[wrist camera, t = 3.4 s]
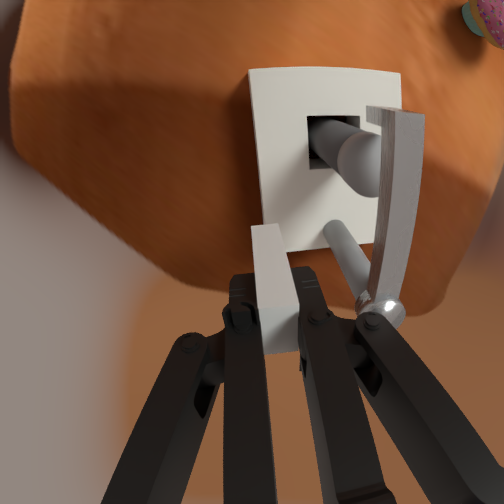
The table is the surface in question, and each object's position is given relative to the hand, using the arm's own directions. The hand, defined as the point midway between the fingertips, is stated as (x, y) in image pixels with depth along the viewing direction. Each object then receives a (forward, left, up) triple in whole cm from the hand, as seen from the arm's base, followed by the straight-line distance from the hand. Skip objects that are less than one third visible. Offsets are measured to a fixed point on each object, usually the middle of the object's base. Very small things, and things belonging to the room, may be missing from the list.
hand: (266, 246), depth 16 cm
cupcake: (-21, +30, -15) cm, 40 cm away
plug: (-3, +7, -15) cm, 17 cm away
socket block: (-1, +7, -15) cm, 17 cm away
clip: (0, +7, -2) cm, 8 cm away
